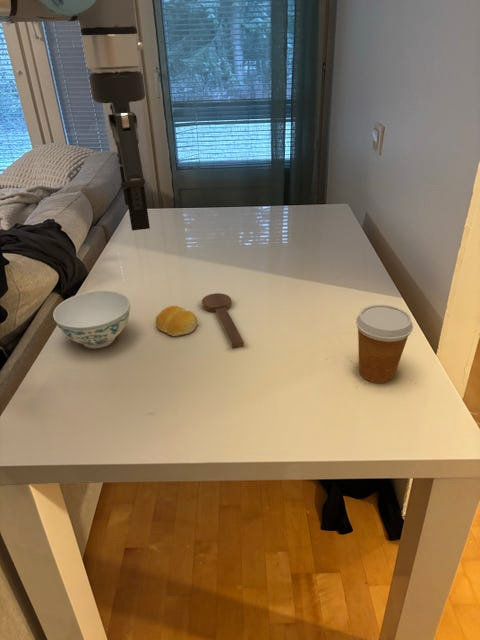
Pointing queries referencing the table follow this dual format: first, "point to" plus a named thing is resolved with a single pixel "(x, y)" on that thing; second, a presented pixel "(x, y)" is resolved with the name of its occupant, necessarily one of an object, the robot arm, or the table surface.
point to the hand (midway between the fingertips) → (136, 215)
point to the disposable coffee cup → (381, 341)
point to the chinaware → (93, 317)
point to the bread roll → (176, 321)
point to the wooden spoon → (223, 316)
